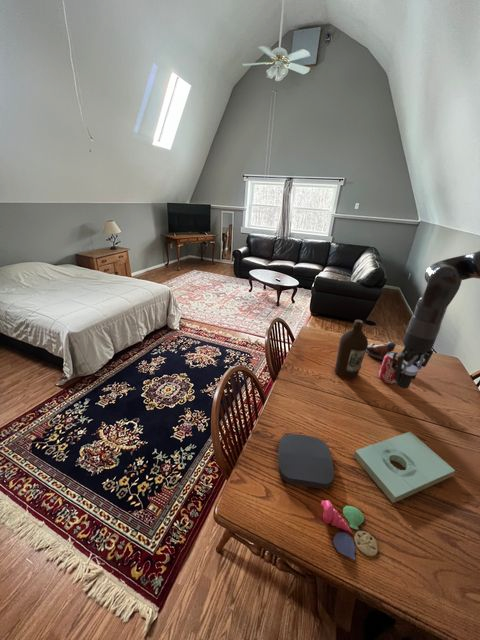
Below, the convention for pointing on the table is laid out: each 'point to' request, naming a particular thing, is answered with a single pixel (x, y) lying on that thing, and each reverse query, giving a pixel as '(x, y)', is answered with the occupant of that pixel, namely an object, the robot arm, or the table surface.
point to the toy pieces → (343, 539)
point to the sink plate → (415, 459)
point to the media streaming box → (305, 461)
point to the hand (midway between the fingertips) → (404, 378)
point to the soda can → (387, 369)
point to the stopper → (407, 376)
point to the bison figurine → (380, 350)
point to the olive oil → (351, 352)
